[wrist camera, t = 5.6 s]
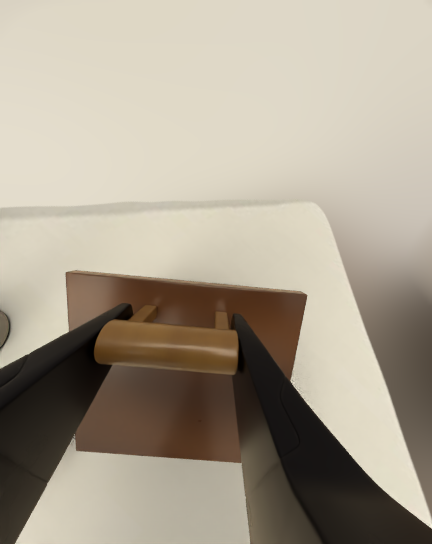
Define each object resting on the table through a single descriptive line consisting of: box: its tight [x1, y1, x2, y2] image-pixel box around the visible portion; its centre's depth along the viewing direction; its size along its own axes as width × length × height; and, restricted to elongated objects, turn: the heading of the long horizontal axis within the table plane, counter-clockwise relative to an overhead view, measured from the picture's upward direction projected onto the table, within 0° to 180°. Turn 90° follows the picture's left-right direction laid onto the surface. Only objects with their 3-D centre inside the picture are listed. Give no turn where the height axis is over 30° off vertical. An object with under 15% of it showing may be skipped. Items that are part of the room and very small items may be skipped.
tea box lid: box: [66, 270, 307, 463], centre depth 9 cm, size 12×14×4 cm
